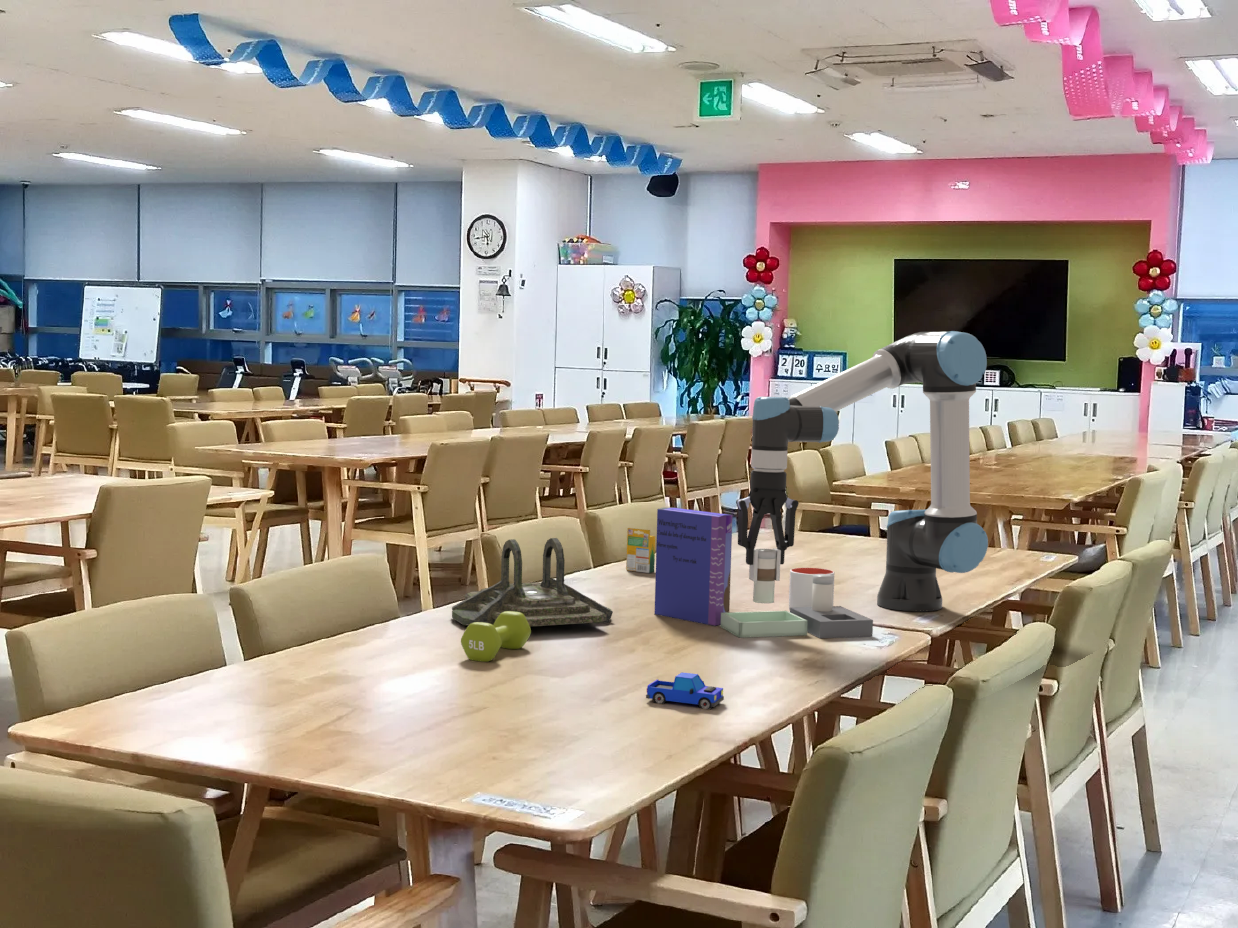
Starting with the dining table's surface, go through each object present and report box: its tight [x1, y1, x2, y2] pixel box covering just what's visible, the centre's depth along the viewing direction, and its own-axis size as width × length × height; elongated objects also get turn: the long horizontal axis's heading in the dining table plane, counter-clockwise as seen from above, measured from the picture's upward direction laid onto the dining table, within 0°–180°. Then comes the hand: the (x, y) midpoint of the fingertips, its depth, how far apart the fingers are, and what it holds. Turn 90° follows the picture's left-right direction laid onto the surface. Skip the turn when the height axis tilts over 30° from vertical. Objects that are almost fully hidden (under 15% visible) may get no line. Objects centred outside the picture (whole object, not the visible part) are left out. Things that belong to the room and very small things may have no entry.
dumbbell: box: [460, 611, 532, 663], centre depth 265 cm, size 16×8×7 cm, turn 157°
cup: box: [788, 567, 835, 611], centre depth 313 cm, size 10×10×10 cm
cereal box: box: [654, 506, 733, 627], centre depth 303 cm, size 17×5×24 cm, turn 47°
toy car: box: [645, 672, 725, 710], centre depth 231 cm, size 7×12×5 cm, turn 69°
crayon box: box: [625, 527, 656, 574], centre depth 368 cm, size 7×3×12 cm, turn 58°
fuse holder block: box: [789, 574, 874, 639], centre depth 296 cm, size 12×16×11 cm
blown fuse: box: [752, 548, 776, 604], centre depth 292 cm, size 4×4×11 cm
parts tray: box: [720, 610, 808, 638], centre depth 293 cm, size 15×11×3 cm
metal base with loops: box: [451, 537, 614, 627], centre depth 298 cm, size 35×34×18 cm
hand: (764, 579), depth 292 cm, fingers closed on blown fuse, 4 cm apart
